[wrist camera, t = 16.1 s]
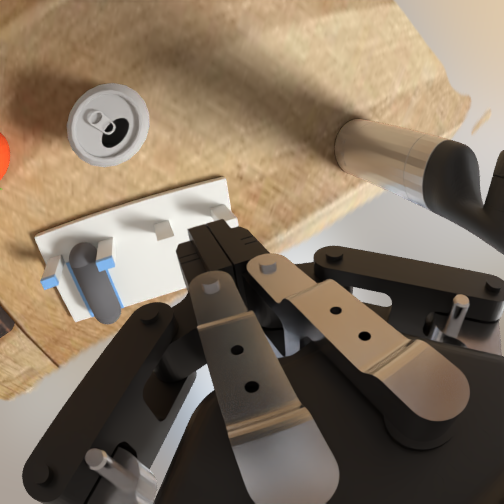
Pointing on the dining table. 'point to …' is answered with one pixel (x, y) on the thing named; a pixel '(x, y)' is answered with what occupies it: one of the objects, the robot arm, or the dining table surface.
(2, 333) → the hardcover book
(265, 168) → the dining table surface
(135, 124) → the can
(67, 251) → the white peg board
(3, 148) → the clementine
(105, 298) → the dark grey rounded cylinder
